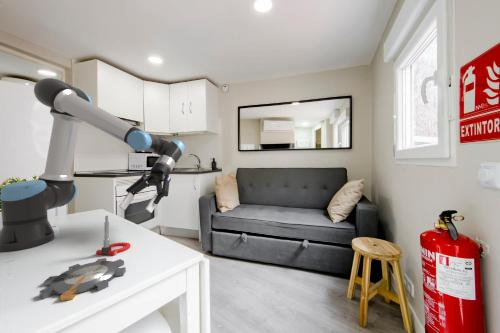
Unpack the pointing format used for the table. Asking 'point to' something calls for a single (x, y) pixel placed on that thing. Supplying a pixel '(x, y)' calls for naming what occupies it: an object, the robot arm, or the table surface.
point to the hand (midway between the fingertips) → (134, 209)
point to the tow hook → (107, 248)
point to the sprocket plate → (83, 279)
